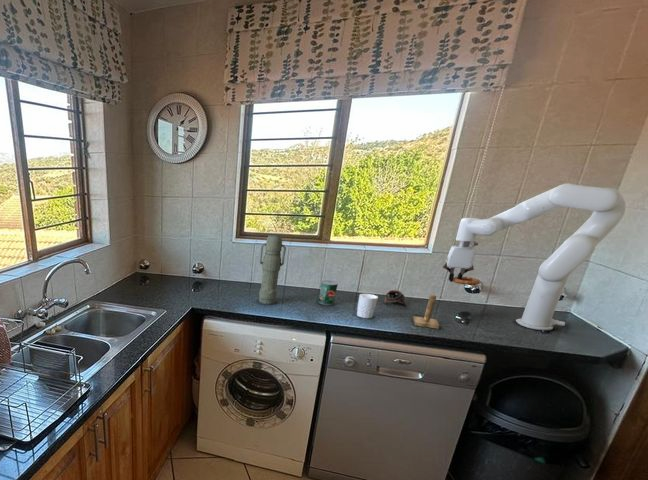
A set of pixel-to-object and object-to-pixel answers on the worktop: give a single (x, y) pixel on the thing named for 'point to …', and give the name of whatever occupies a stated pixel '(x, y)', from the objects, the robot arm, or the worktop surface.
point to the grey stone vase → (271, 268)
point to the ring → (467, 281)
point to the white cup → (366, 305)
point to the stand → (427, 316)
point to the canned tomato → (327, 292)
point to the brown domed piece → (394, 297)
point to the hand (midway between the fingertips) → (454, 281)
